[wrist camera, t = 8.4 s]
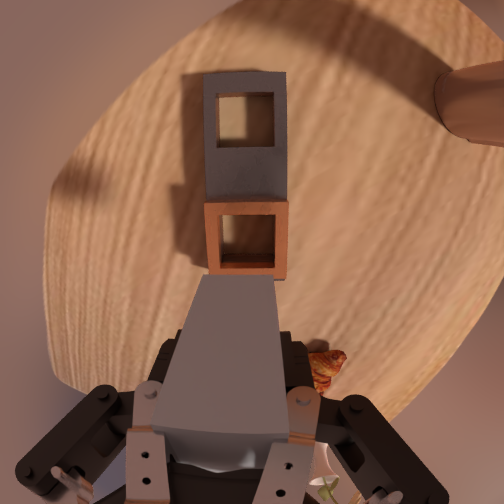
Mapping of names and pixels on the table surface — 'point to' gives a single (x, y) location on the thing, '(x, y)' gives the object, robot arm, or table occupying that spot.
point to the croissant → (325, 367)
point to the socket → (245, 175)
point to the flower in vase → (326, 475)
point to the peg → (226, 377)
